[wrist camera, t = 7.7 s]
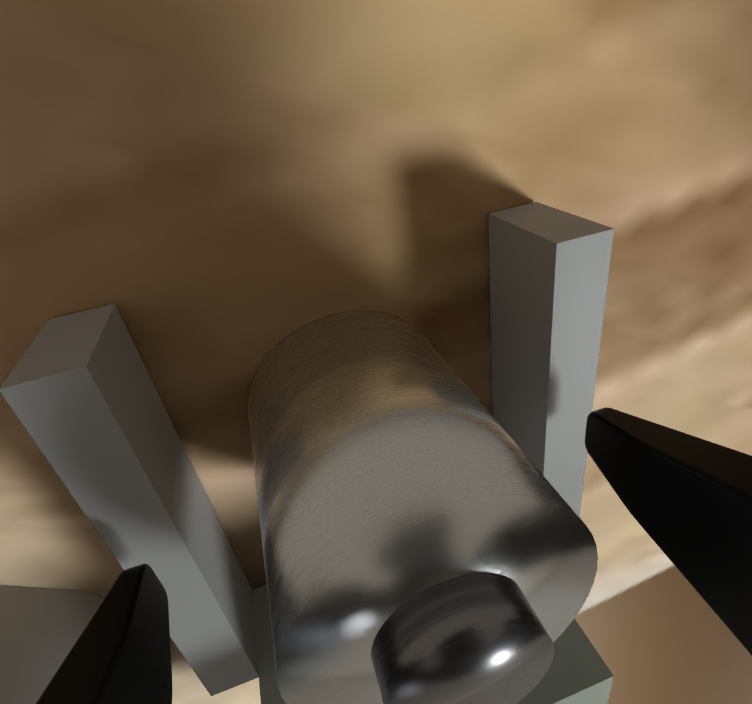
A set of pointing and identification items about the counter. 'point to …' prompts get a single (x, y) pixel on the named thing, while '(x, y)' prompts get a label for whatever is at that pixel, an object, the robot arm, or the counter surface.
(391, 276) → the counter surface
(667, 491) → the robot arm
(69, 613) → the cup
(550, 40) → the counter surface
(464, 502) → the bottle
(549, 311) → the grey u-shaped bracket
